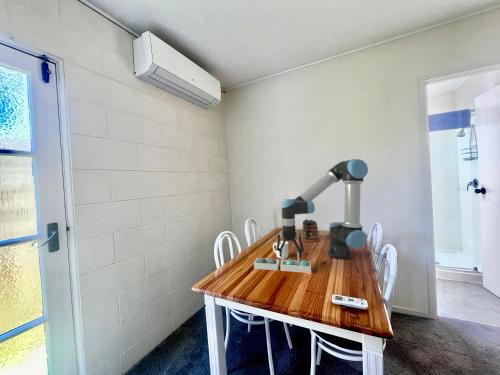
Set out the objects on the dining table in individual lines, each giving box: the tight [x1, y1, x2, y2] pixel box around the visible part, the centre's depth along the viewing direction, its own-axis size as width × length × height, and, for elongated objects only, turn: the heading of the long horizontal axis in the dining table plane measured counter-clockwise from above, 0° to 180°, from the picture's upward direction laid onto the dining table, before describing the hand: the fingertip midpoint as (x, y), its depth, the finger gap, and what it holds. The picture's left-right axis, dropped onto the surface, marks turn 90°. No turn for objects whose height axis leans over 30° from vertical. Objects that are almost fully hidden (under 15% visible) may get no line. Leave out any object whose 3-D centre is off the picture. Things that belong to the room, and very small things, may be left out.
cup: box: [272, 240, 289, 259], centre depth 143 cm, size 8×12×10 cm
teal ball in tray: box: [299, 259, 309, 266], centre depth 120 cm, size 6×6×6 cm
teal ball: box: [285, 258, 294, 265], centre depth 122 cm, size 6×6×6 cm
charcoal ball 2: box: [267, 257, 276, 264], centre depth 125 cm, size 6×6×6 cm
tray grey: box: [253, 257, 280, 271], centre depth 125 cm, size 14×8×4 cm, turn 75°
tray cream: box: [279, 259, 312, 274], centre depth 121 cm, size 17×8×4 cm, turn 75°
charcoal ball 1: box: [257, 256, 266, 263], centre depth 126 cm, size 6×6×6 cm
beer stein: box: [301, 218, 320, 243], centre depth 177 cm, size 19×15×20 cm
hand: (290, 262), depth 122 cm, fingers open, 9 cm apart
